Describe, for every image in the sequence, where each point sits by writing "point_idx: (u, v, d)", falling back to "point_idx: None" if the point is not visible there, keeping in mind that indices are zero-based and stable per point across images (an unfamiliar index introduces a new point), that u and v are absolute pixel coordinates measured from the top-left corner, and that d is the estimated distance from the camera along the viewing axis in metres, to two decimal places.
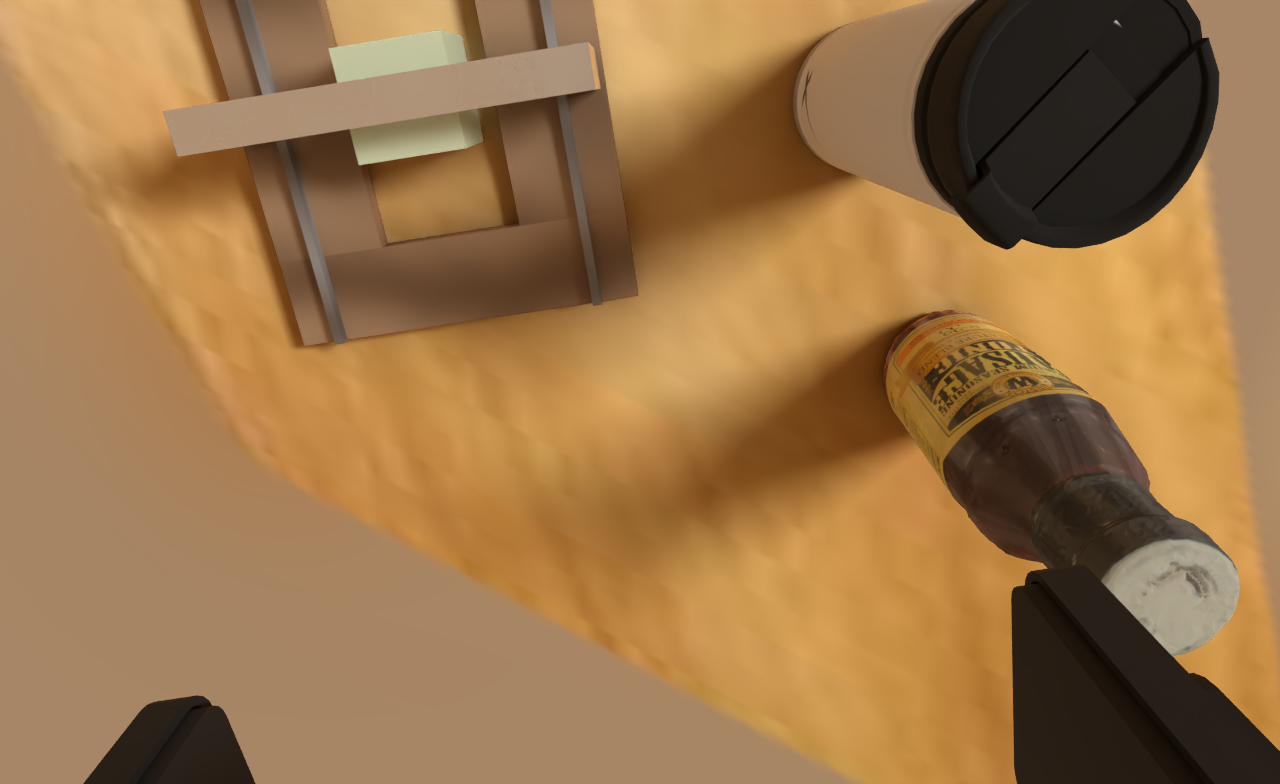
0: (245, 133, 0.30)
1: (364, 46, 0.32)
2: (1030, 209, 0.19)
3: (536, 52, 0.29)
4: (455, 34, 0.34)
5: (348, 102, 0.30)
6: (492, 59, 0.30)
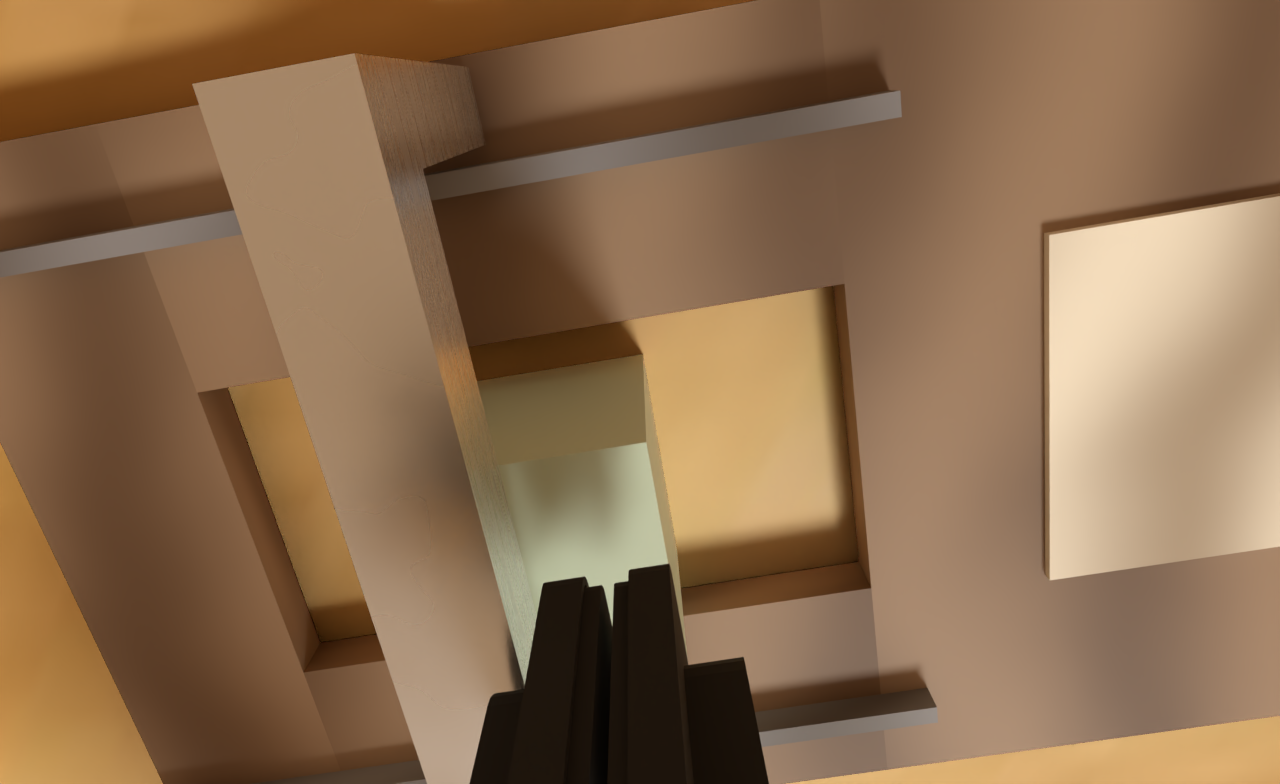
0: (319, 345, 0.09)
1: (652, 524, 0.13)
2: None
3: None
4: (679, 585, 0.16)
5: (455, 646, 0.10)
6: None
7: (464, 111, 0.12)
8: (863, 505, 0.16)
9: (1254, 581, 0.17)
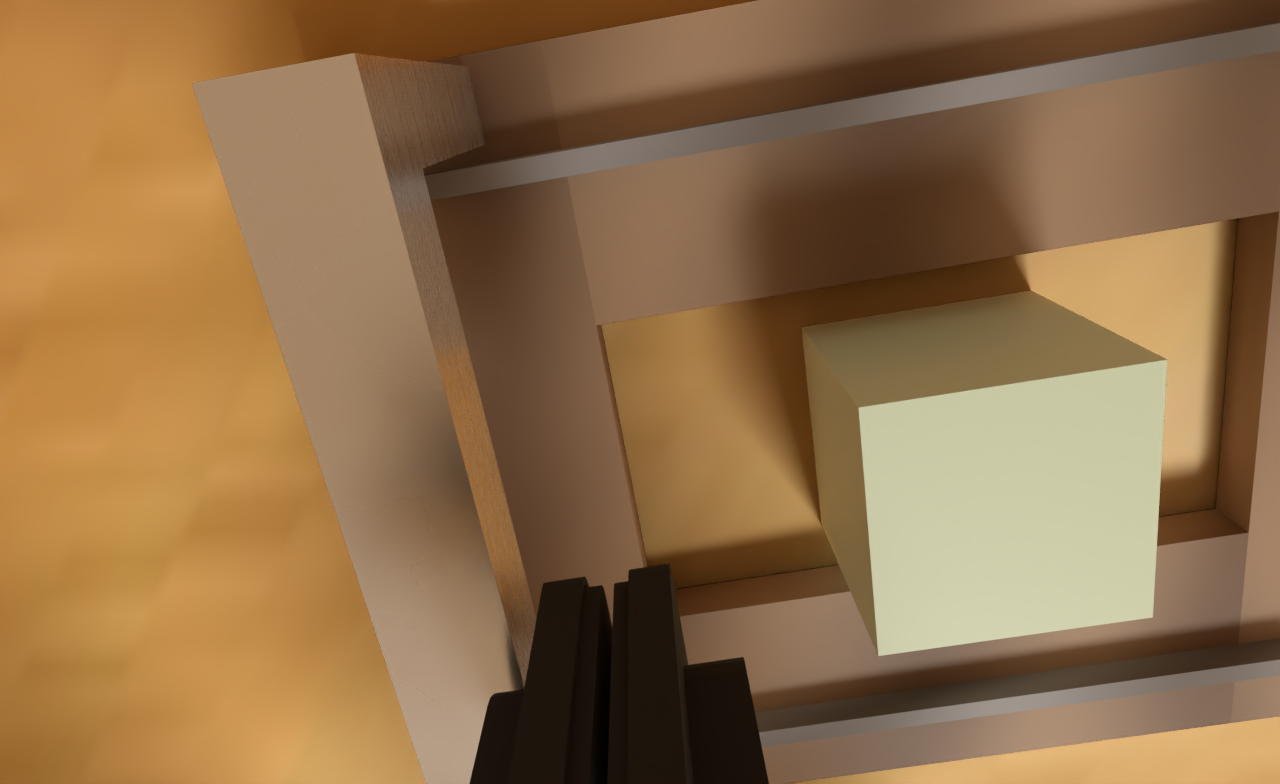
0: (319, 345, 0.09)
1: (1151, 447, 0.12)
2: None
3: None
4: None
5: (454, 646, 0.10)
6: None
7: (464, 111, 0.12)
8: (1254, 445, 0.16)
9: None
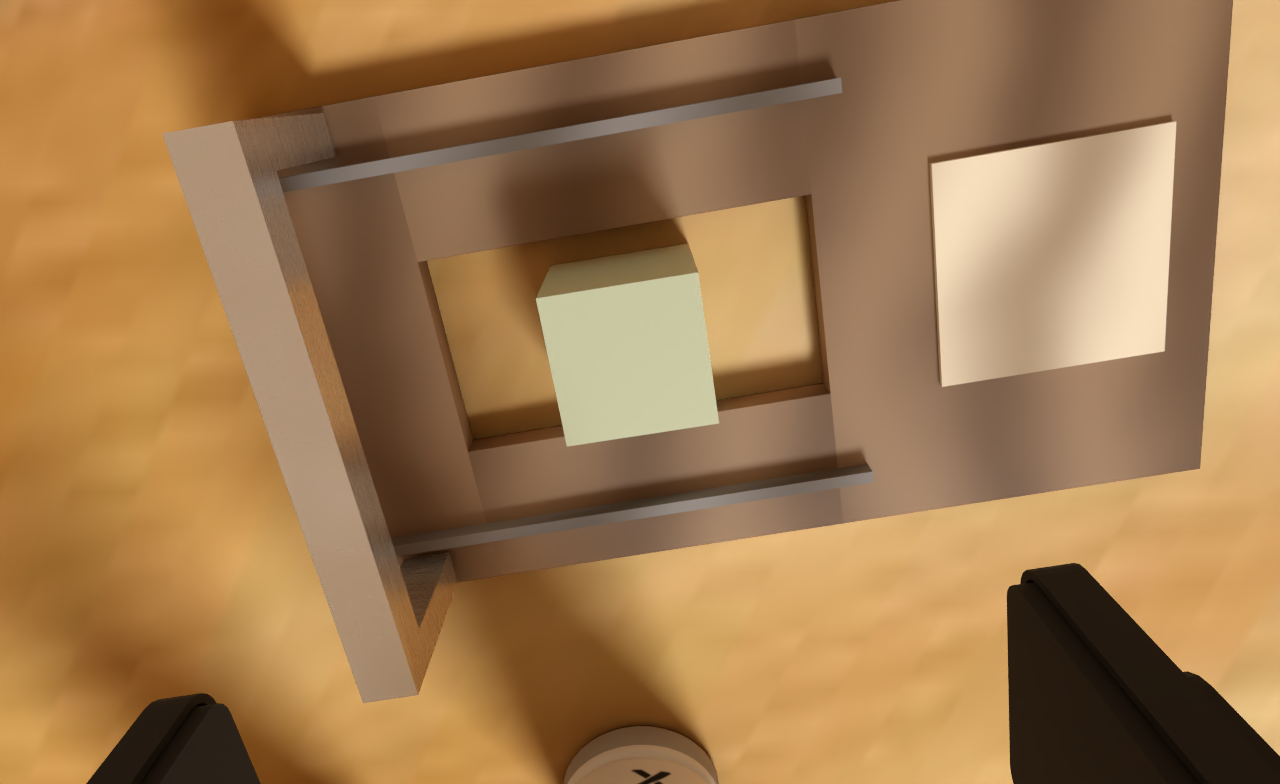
0: (222, 252, 0.19)
1: (699, 322, 0.23)
2: None
3: (398, 640, 0.23)
4: None
5: (296, 408, 0.20)
6: (382, 592, 0.22)
7: (316, 139, 0.23)
8: (824, 337, 0.26)
9: (1072, 389, 0.27)
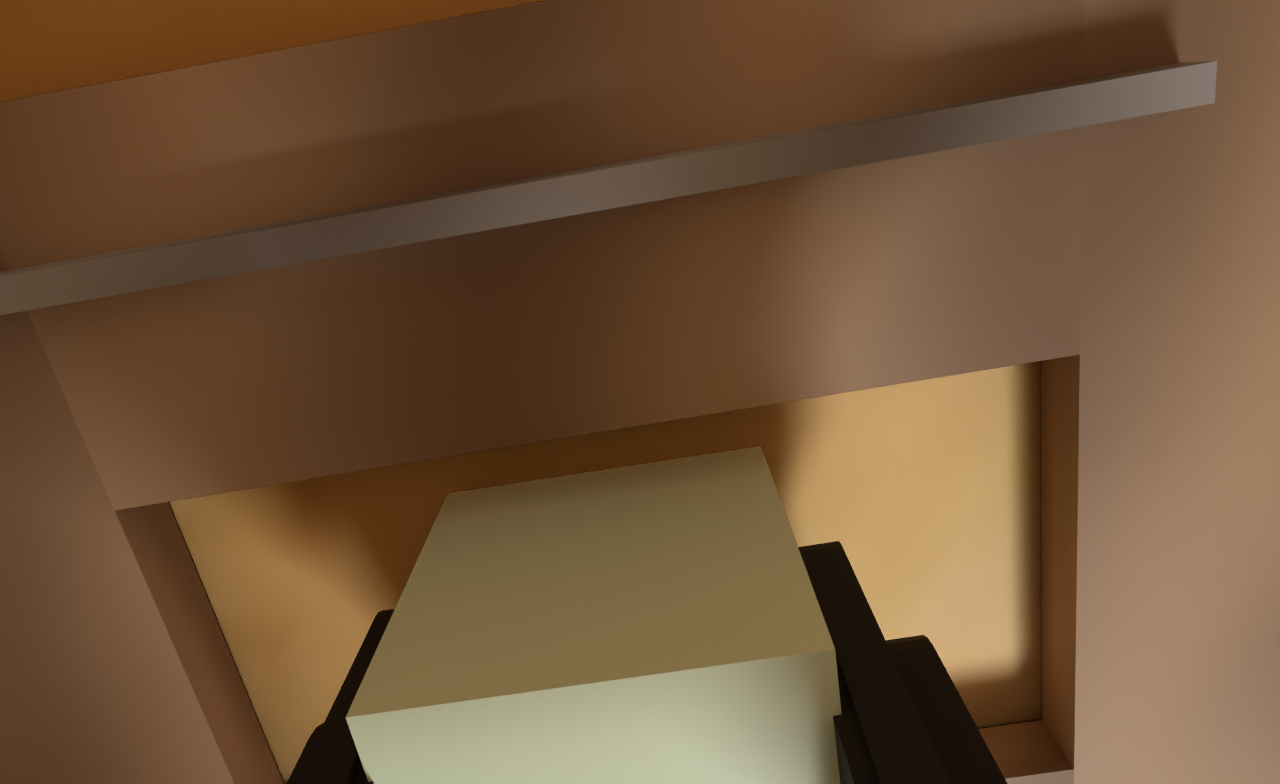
0: None
1: (831, 770, 0.08)
2: None
3: None
4: None
5: None
6: None
7: None
8: (1073, 660, 0.11)
9: None
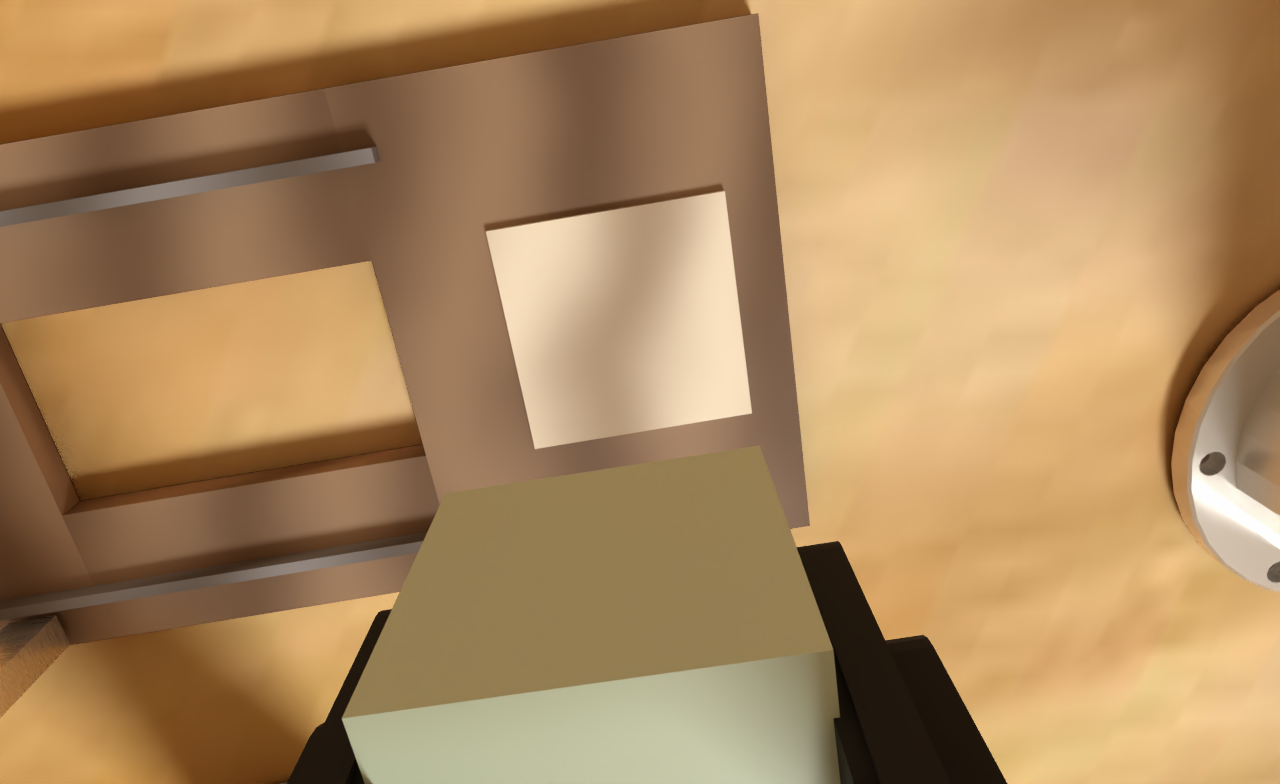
0: None
1: (829, 771, 0.08)
2: None
3: None
4: None
5: None
6: None
7: None
8: (411, 401, 0.26)
9: (669, 450, 0.27)
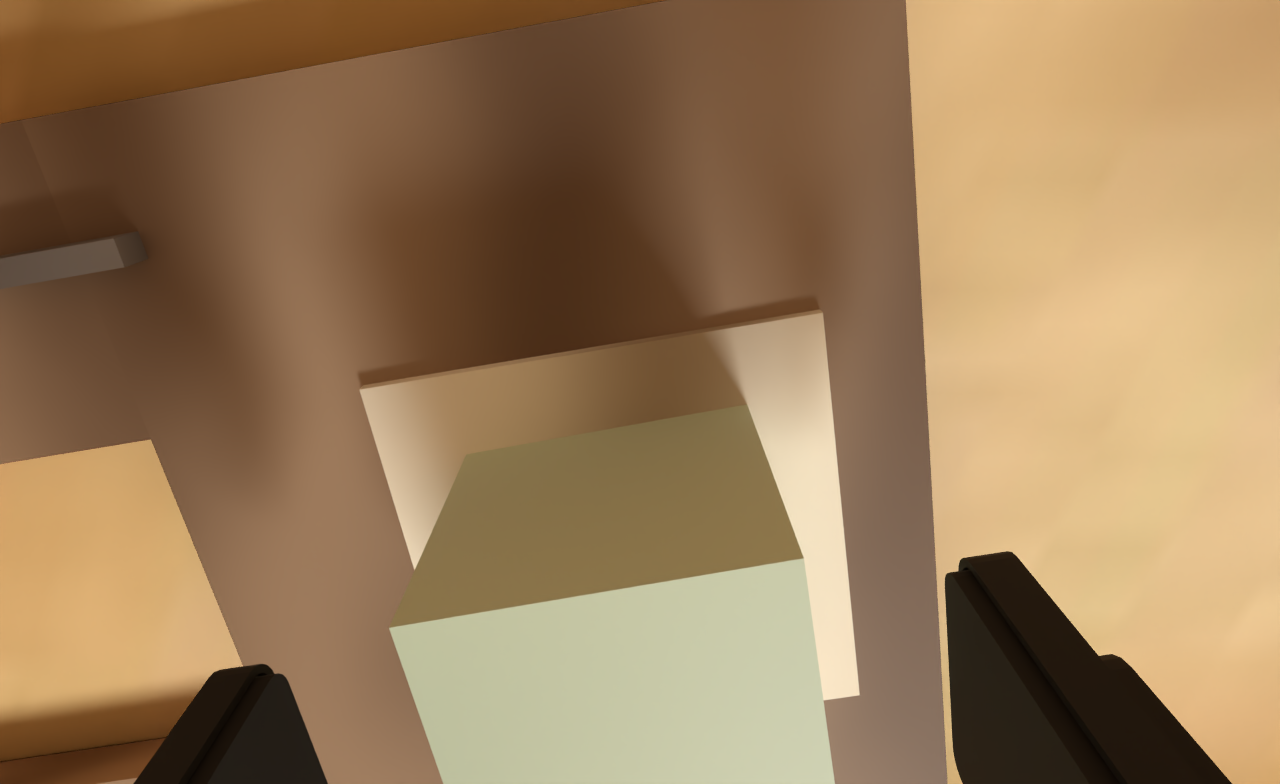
0: None
1: (805, 667, 0.09)
2: None
3: None
4: None
5: None
6: None
7: None
8: None
9: None
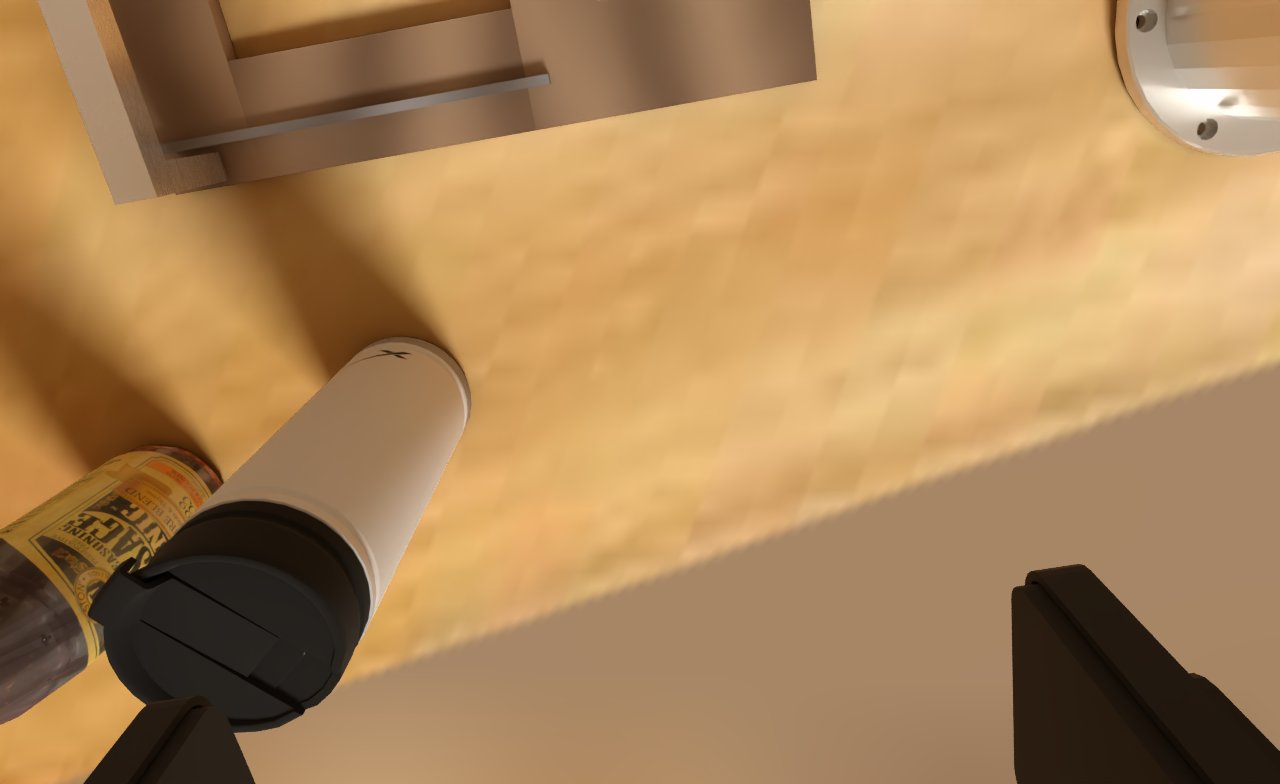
0: None
1: None
2: (139, 619, 0.22)
3: (136, 144, 0.30)
4: None
5: None
6: (119, 98, 0.29)
7: None
8: None
9: (703, 5, 0.34)
